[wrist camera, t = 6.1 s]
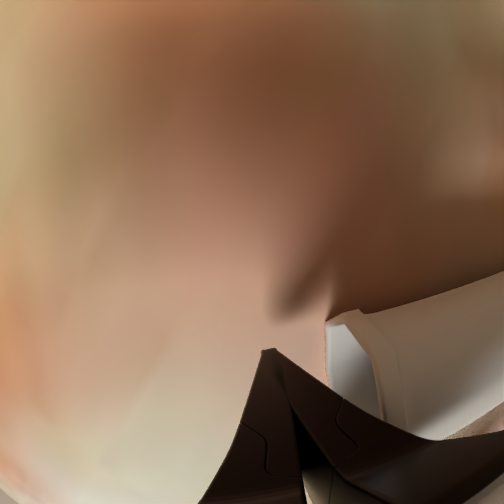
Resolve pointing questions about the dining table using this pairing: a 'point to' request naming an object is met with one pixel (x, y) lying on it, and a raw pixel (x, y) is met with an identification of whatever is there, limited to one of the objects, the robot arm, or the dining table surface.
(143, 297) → the dining table surface
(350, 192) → the dining table surface
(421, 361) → the tube
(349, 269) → the dining table surface
